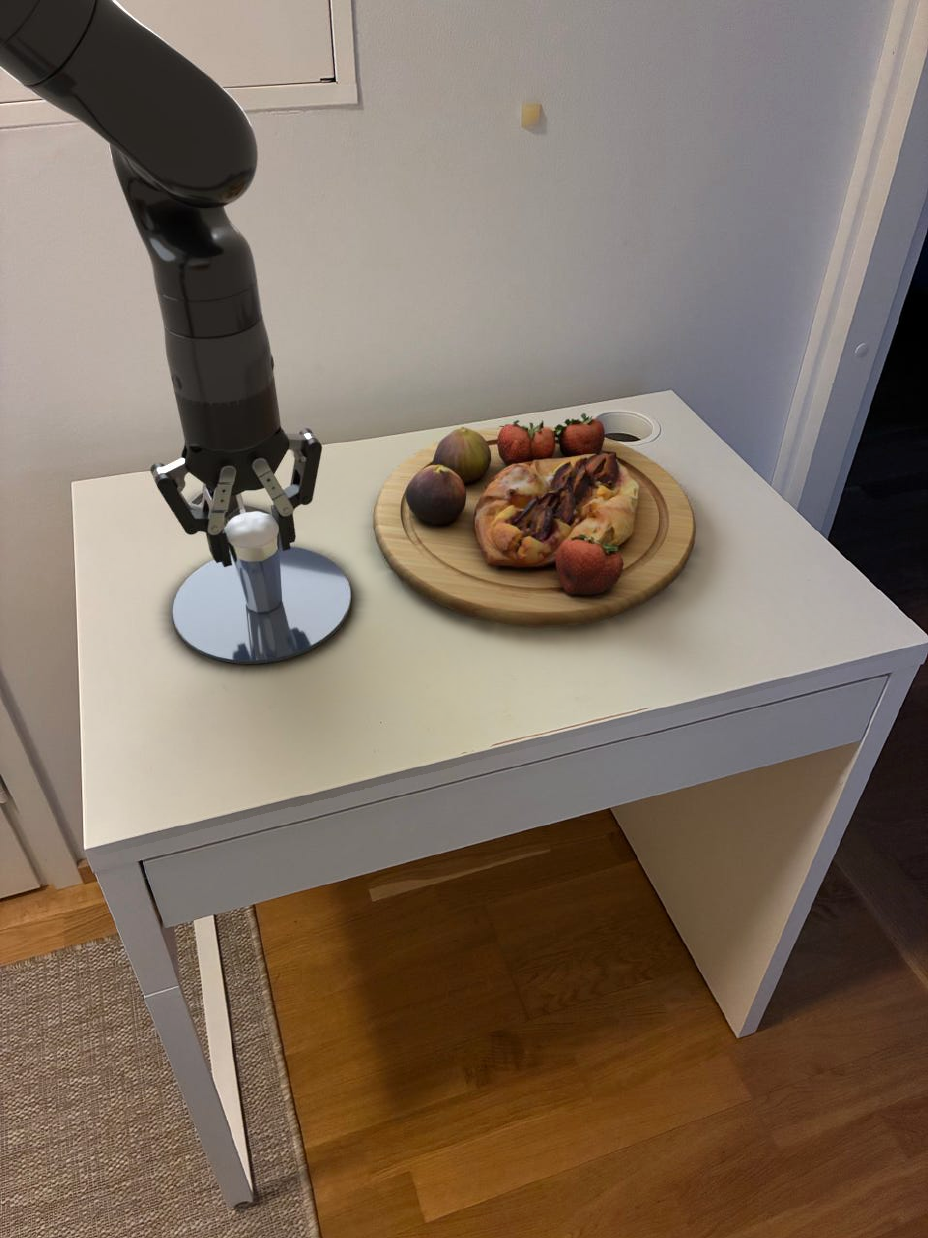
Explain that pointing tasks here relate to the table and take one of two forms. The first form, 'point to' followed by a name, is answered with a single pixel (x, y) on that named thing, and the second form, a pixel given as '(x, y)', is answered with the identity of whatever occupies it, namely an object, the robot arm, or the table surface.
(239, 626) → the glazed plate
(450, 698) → the table surface
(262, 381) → the robot arm
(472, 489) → the wooden plate
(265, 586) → the milkshake
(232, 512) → the strap clip
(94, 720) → the table surface
